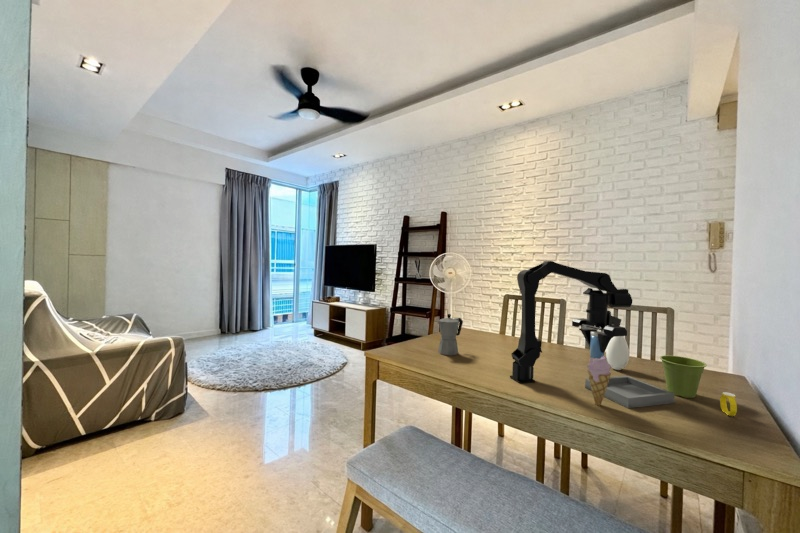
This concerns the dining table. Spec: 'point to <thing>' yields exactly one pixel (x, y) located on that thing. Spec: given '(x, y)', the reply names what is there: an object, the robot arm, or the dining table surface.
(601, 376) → the ice cream cone
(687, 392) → the plant pot
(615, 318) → the robot arm
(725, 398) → the watch
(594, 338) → the cylinder
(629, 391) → the tray
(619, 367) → the white vase
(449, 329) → the coffeepot
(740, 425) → the dining table surface
